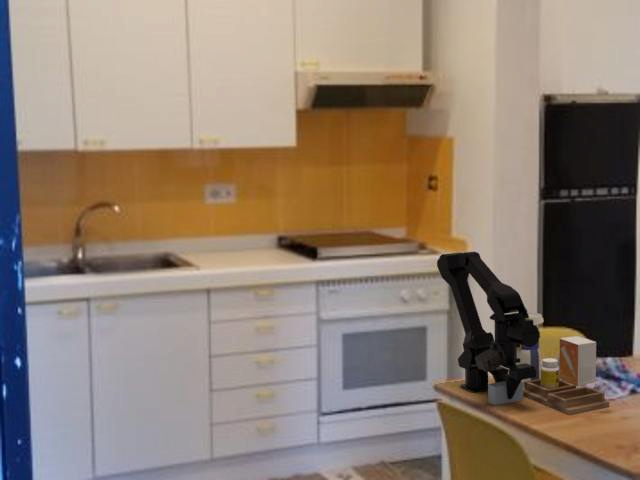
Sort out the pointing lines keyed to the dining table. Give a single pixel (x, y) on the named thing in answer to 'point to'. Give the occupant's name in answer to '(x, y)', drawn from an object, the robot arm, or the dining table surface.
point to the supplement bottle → (549, 373)
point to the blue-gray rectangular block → (503, 393)
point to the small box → (577, 360)
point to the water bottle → (531, 350)
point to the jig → (565, 397)
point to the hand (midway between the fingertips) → (505, 397)
